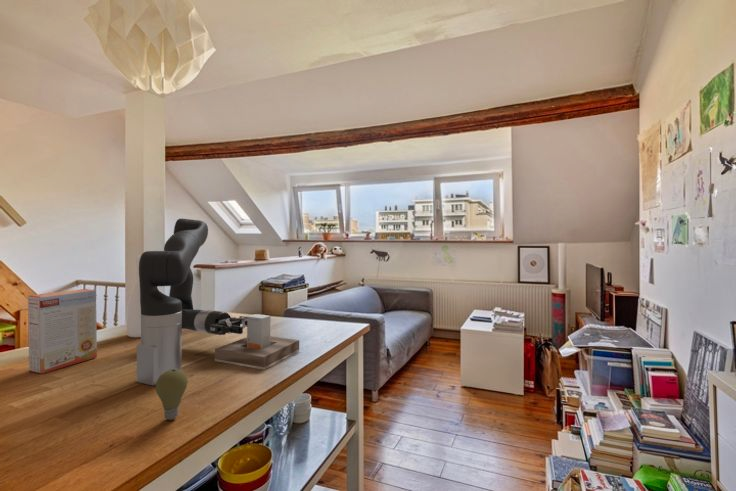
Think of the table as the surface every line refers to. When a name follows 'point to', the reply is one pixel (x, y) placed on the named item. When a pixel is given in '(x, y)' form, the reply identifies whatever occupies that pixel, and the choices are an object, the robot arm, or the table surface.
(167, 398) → the light bulb
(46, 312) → the cracker box
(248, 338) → the skincare box
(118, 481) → the table surface
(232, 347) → the walnut stand
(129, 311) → the wine bottle
